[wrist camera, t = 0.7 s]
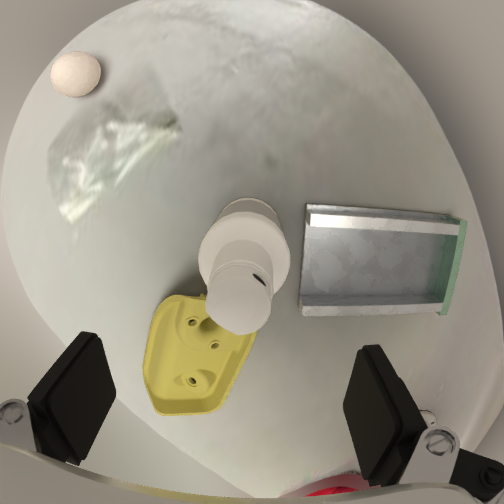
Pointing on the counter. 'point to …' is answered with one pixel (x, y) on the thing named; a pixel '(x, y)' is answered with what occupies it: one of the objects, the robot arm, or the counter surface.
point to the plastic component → (191, 358)
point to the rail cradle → (378, 261)
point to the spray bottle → (243, 265)
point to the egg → (75, 74)
